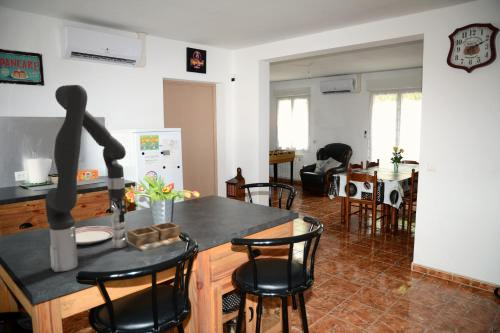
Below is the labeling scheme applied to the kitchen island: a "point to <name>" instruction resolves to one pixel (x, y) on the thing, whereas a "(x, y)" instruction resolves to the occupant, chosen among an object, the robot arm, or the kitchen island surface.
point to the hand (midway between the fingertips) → (118, 220)
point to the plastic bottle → (118, 231)
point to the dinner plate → (93, 234)
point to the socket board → (154, 236)
